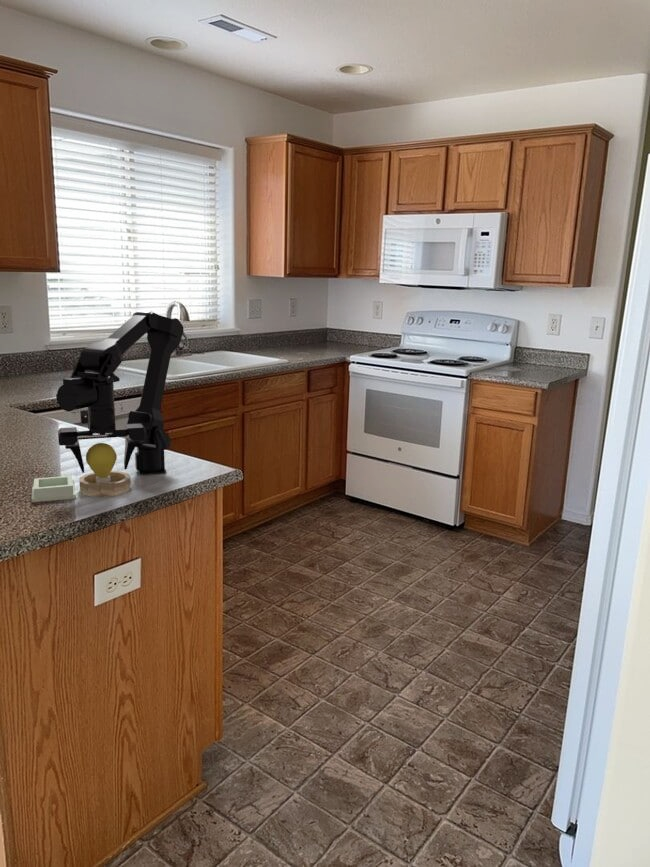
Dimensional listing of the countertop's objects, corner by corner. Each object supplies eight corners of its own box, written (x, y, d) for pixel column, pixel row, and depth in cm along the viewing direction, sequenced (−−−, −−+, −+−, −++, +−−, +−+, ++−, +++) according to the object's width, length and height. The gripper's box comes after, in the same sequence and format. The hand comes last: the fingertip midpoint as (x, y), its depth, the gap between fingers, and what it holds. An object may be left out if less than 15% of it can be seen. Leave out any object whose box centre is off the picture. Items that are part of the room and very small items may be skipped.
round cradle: (127, 480, 161) (127, 469, 161) (132, 494, 151) (132, 482, 151) (79, 484, 157) (78, 473, 157) (81, 499, 147) (80, 487, 147)
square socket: (74, 486, 156) (73, 474, 155) (76, 498, 148) (75, 486, 147) (32, 489, 153) (31, 478, 152) (31, 502, 145) (30, 490, 144)
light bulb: (124, 485, 154) (121, 442, 152) (98, 491, 149) (94, 447, 147) (108, 480, 159) (105, 439, 157) (82, 486, 154) (78, 444, 152)
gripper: (139, 395, 160) (141, 458, 164) (55, 399, 154) (60, 464, 157) (145, 404, 150) (148, 470, 154) (56, 408, 144) (61, 478, 147)
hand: (104, 470), depth 153 cm, fingers open, 9 cm apart
